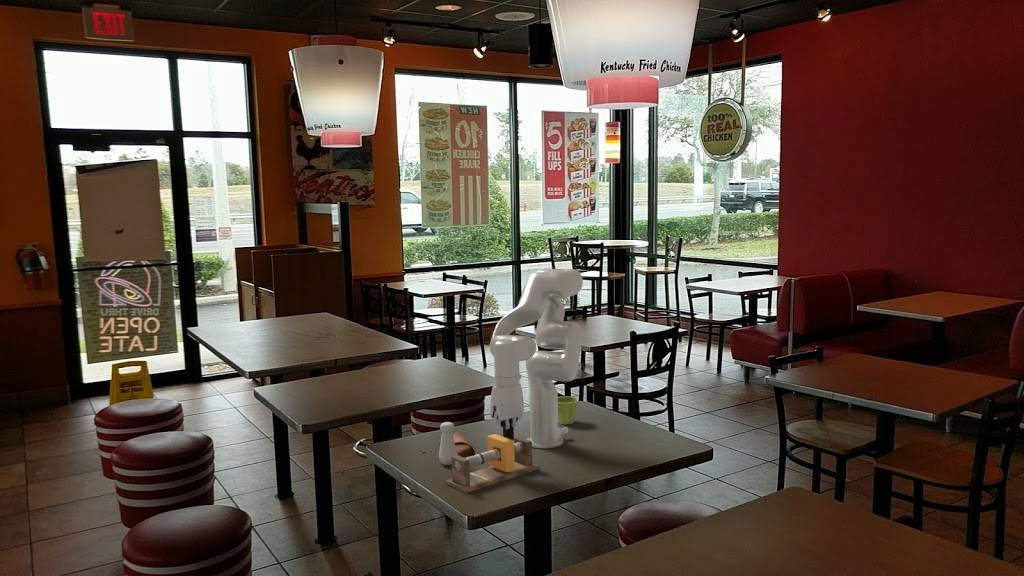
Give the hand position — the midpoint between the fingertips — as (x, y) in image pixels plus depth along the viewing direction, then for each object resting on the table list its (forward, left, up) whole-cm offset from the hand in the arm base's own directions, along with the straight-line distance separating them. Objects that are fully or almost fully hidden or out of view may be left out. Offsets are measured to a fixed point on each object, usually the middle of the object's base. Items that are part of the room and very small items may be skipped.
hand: (508, 440), depth 226 cm
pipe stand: (+6, 0, -10) cm, 11 cm away
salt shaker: (+9, -19, -10) cm, 23 cm away
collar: (+3, 0, -8) cm, 8 cm away
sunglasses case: (-1, -29, -10) cm, 31 cm away
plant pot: (-48, -24, -10) cm, 55 cm away
